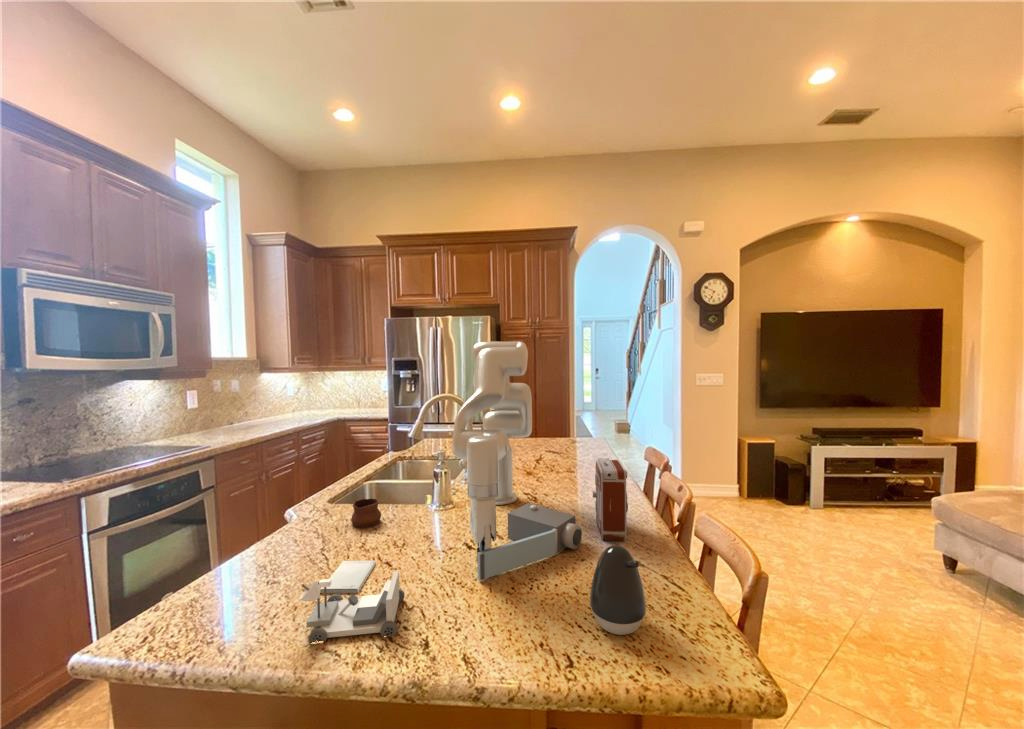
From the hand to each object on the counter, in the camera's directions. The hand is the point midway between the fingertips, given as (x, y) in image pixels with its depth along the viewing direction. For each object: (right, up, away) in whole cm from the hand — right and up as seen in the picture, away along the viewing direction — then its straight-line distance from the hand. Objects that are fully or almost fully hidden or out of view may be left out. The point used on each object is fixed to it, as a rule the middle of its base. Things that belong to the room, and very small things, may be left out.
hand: (484, 564), depth 98 cm
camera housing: (+16, -1, +15) cm, 22 cm away
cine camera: (+35, -1, +23) cm, 42 cm away
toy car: (-24, -3, -18) cm, 30 cm away
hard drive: (-31, -3, -3) cm, 31 cm away
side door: (+9, -1, +1) cm, 9 cm away
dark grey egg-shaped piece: (+27, -2, -20) cm, 34 cm away
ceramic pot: (-38, -2, +29) cm, 48 cm away
